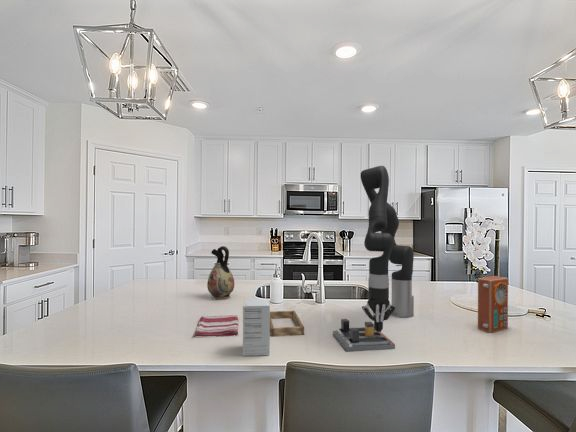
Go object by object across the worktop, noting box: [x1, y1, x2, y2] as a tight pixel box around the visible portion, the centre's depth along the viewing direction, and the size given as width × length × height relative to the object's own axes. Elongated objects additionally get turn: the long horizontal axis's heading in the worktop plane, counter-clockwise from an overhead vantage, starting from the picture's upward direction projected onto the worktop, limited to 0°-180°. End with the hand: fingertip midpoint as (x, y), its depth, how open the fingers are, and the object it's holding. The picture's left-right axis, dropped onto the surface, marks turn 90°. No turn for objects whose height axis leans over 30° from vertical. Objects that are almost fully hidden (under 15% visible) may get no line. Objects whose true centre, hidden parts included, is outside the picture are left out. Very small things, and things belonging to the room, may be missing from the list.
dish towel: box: [194, 314, 239, 337], centre depth 138 cm, size 17×23×3 cm
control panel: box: [477, 275, 509, 334], centre depth 137 cm, size 21×7×15 cm
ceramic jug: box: [206, 245, 235, 300], centre depth 187 cm, size 17×15×30 cm
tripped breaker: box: [364, 321, 374, 336], centre depth 123 cm, size 2×3×5 cm
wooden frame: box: [270, 310, 305, 337], centre depth 139 cm, size 13×23×3 cm, turn 8°
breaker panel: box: [332, 318, 396, 352], centre depth 123 cm, size 18×16×6 cm
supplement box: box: [242, 298, 271, 357], centre depth 114 cm, size 10×9×17 cm
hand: (378, 331), depth 123 cm, fingers closed
